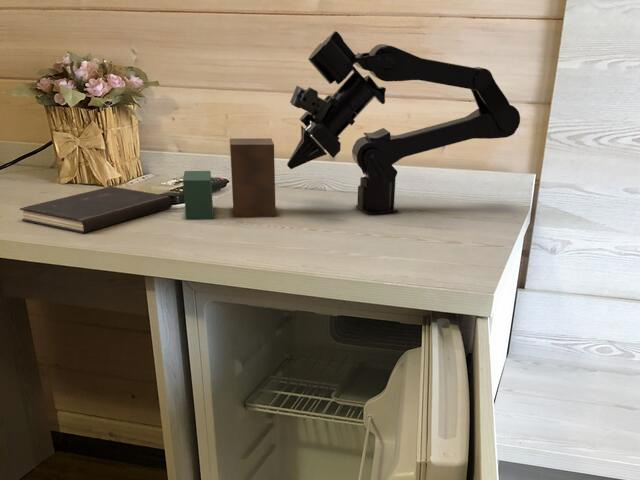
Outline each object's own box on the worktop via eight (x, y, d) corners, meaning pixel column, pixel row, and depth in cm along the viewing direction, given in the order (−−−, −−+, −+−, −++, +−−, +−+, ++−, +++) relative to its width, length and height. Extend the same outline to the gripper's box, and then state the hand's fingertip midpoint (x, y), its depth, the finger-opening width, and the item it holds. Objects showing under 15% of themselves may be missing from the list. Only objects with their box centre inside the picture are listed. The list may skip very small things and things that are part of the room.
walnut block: (273, 207, 148) (271, 138, 141) (275, 216, 142) (274, 144, 135) (233, 208, 147) (229, 138, 140) (234, 217, 141) (230, 144, 134)
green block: (212, 207, 147) (210, 170, 143) (212, 218, 139) (210, 180, 136) (187, 207, 146) (184, 170, 143) (186, 219, 139) (182, 180, 135)
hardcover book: (22, 220, 135) (19, 208, 134) (112, 197, 152) (111, 186, 151) (84, 234, 128) (82, 220, 127) (172, 208, 146) (171, 196, 144)
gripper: (310, 65, 141) (255, 128, 145) (322, 73, 125) (260, 143, 129) (350, 110, 146) (295, 169, 150) (366, 123, 130) (305, 189, 134)
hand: (288, 167), depth 141 cm, fingers closed
